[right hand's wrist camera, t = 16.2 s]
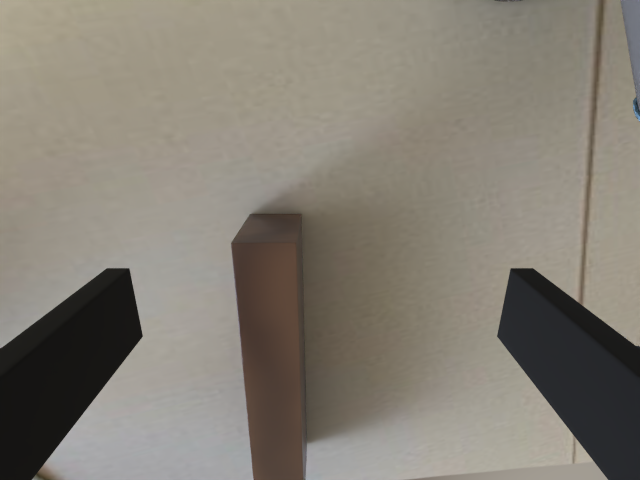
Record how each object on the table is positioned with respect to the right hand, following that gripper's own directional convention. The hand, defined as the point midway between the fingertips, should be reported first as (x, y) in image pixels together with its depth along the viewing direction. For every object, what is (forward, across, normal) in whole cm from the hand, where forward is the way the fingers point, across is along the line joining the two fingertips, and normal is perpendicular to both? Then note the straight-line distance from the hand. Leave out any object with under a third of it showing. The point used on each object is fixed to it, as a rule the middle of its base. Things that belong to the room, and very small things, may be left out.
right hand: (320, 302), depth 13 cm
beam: (+23, +4, +18) cm, 29 cm away
